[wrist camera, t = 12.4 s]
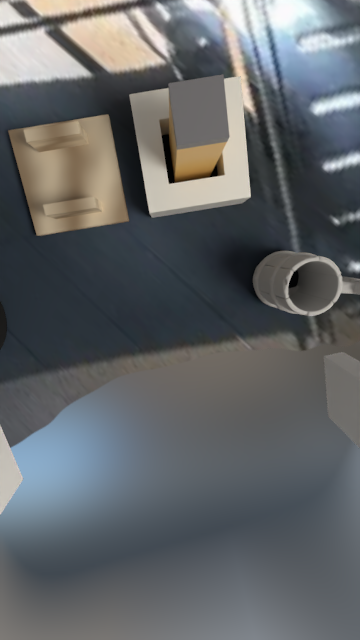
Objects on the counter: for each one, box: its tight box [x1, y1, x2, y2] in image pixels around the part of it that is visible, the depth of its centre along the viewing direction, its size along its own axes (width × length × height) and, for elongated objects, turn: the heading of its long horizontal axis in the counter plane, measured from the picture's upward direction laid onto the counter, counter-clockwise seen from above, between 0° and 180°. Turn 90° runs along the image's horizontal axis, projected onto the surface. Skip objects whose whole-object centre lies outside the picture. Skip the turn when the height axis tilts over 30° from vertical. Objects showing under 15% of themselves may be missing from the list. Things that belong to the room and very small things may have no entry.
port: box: [129, 76, 251, 218], centre depth 32 cm, size 12×12×4 cm
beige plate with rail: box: [8, 114, 129, 236], centre depth 32 cm, size 12×12×4 cm
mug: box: [253, 251, 360, 316], centre depth 32 cm, size 8×12×12 cm, turn 88°
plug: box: [168, 75, 230, 182], centre depth 28 cm, size 4×4×12 cm
